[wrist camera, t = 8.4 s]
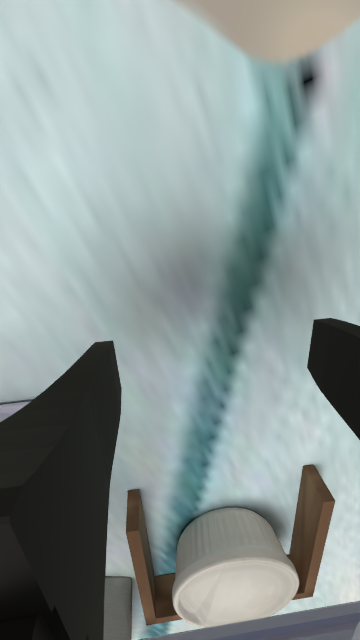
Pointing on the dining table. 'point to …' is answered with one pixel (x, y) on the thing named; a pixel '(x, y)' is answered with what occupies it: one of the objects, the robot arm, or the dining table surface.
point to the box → (303, 554)
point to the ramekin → (231, 569)
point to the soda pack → (118, 608)
